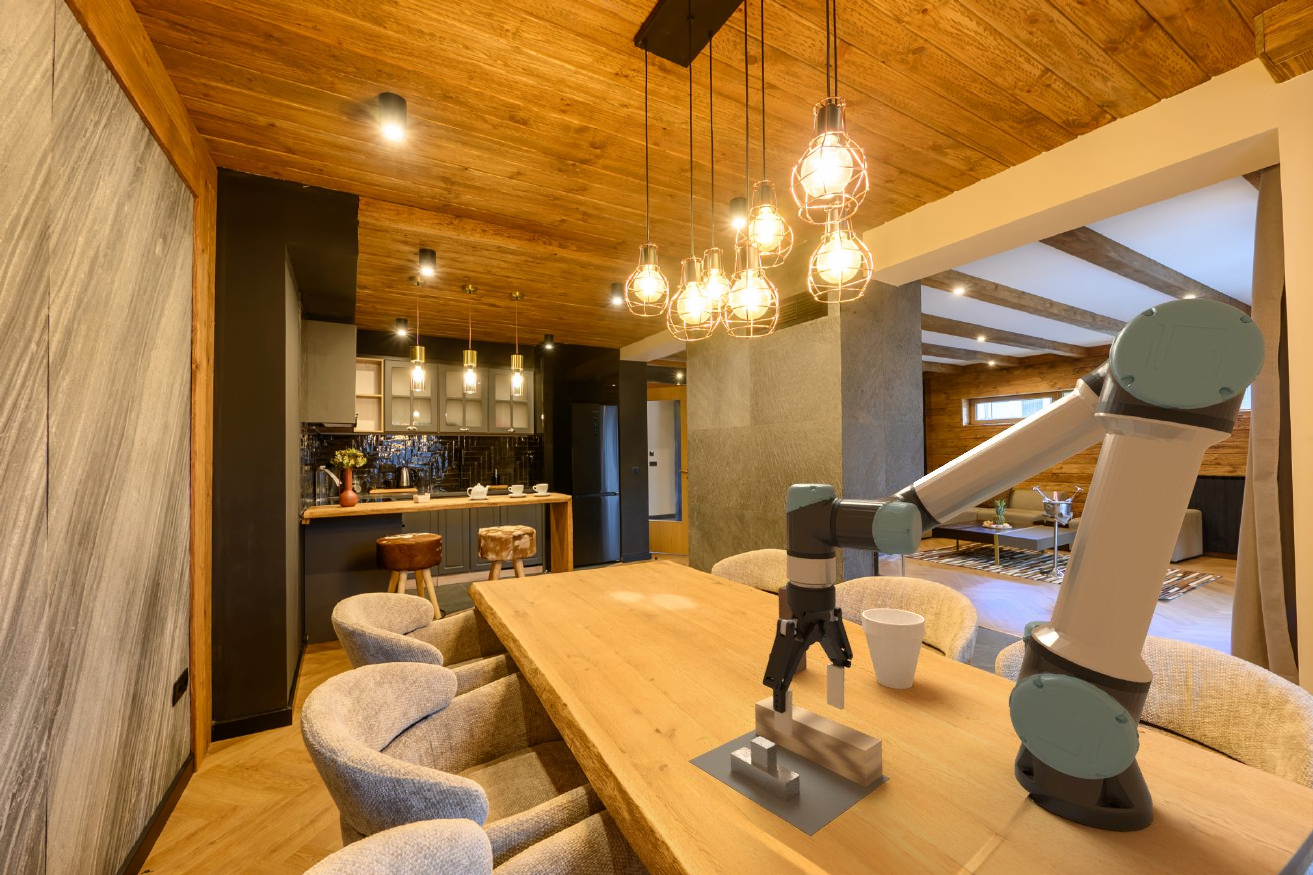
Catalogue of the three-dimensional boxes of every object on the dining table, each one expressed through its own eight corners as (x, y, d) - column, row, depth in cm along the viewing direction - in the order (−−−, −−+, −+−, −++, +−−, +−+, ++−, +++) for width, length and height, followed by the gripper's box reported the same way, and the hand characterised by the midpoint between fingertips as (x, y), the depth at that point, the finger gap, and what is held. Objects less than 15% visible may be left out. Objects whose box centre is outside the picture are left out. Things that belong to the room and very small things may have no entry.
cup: (850, 676, 119) (848, 612, 120) (893, 667, 124) (891, 605, 125) (895, 699, 108) (893, 627, 108) (941, 688, 113) (939, 620, 113)
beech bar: (882, 775, 80) (881, 740, 80) (866, 787, 77) (865, 750, 78) (772, 725, 96) (772, 695, 96) (755, 733, 93) (755, 703, 93)
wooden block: (787, 680, 118) (785, 594, 118) (768, 675, 121) (766, 591, 121) (807, 668, 124) (805, 586, 125) (789, 663, 127) (787, 584, 128)
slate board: (890, 785, 80) (890, 778, 80) (810, 844, 68) (810, 835, 68) (769, 728, 97) (769, 722, 97) (688, 767, 85) (688, 761, 85)
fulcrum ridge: (799, 794, 76) (799, 753, 76) (786, 802, 74) (785, 760, 74) (744, 763, 84) (744, 726, 84) (730, 770, 82) (730, 732, 82)
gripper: (834, 568, 98) (835, 689, 98) (738, 589, 83) (738, 734, 82) (874, 575, 93) (875, 704, 92) (779, 600, 77) (779, 755, 76)
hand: (810, 718), depth 87 cm, fingers open, 13 cm apart
